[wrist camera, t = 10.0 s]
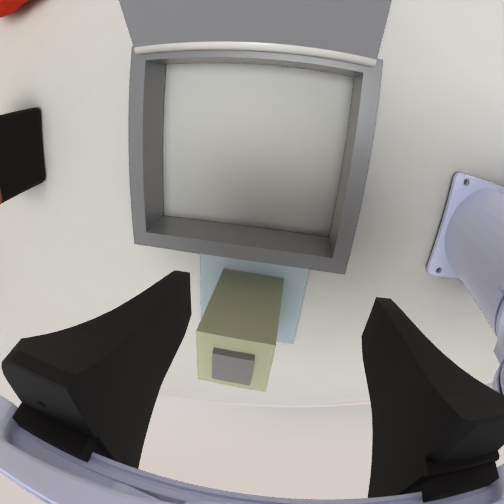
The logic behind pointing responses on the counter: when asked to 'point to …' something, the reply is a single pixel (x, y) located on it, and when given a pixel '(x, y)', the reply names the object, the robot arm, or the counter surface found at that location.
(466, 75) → the counter surface
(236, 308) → the block
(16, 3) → the tomato
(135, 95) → the case
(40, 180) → the battery
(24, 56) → the counter surface
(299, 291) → the mat
